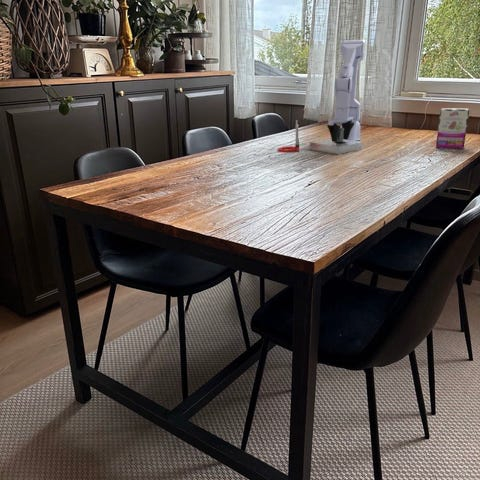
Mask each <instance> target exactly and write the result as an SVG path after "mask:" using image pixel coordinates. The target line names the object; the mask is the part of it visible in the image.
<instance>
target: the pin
mask: <svg viewBox="0 0 480 480" xmlns="http://www.w3.org/2000/svg"><path fill="white" fill-rule="evenodd" d="M343 138H344V128H341V127H340V129H339V132H338V138H337V142H336V143H337V144H343Z"/></svg>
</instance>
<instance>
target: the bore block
mask: <svg viewBox="0 0 480 480" xmlns="http://www.w3.org/2000/svg"><path fill="white" fill-rule="evenodd" d="M309 150H314V151H317V152H324V153H330V154H334V155H335V154H336V155H341V154H345V153H346V154H347V153H349V152H350V153H351V152H355V151H360V150H363V141H360V140H358V141H353V140H345V139H343V144H337V143H336V142H332V139H331V137H329V138H325V139H320V140H314V141H309Z"/></svg>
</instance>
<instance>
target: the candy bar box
mask: <svg viewBox="0 0 480 480" xmlns="http://www.w3.org/2000/svg"><path fill="white" fill-rule="evenodd" d="M469 116H470V109H469V108H461V107H459V108H458V107H457V108H456V107H455V108H451V107H450V108H449V107H448V108H447V107H445V108H442V107H441V108H440V111H439V120H438V127H437V135H436V141H435V148H436V149H451V150H453V149H454V150H458V149H459V150H463V149H464V148H465V141H466V135H467V129H468V123H469V122H468V121H469Z"/></svg>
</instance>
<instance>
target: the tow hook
mask: <svg viewBox="0 0 480 480" xmlns="http://www.w3.org/2000/svg"><path fill="white" fill-rule="evenodd" d="M298 121H299V120H298V119H296V120H295V146H281V147H278V148H277V151H278V152H281V153H289V152H300V138H299V137H300V136H299V124H298Z"/></svg>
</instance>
